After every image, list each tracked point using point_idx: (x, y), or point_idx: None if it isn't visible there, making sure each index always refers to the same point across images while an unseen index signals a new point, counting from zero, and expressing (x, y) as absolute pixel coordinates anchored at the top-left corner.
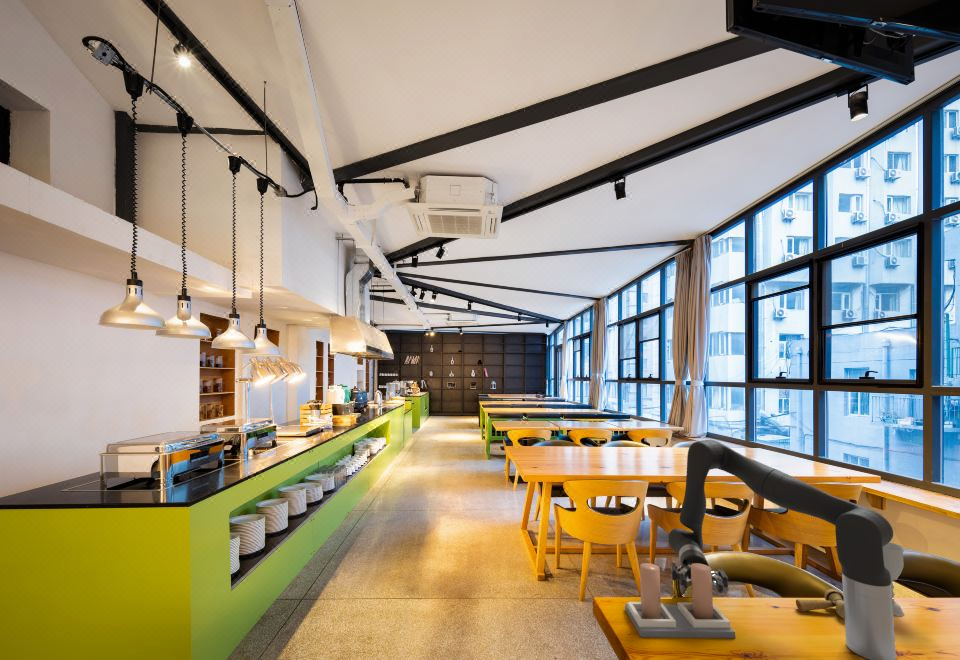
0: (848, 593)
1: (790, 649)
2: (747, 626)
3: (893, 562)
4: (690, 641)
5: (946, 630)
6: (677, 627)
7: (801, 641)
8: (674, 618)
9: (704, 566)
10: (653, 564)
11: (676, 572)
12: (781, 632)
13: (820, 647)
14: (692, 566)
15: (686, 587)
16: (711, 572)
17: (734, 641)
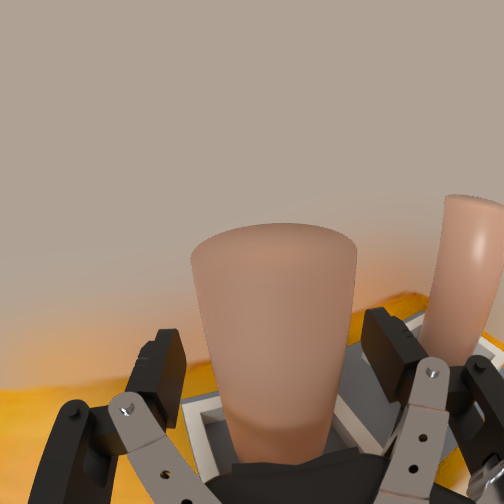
0: None
1: (69, 390)
2: (114, 478)
3: None
4: None
5: None
6: (358, 358)
7: (24, 416)
8: (379, 397)
9: (240, 260)
10: (493, 214)
11: (464, 383)
12: (38, 449)
13: (10, 399)
14: (339, 239)
15: (361, 341)
16: (159, 440)
17: (194, 396)
